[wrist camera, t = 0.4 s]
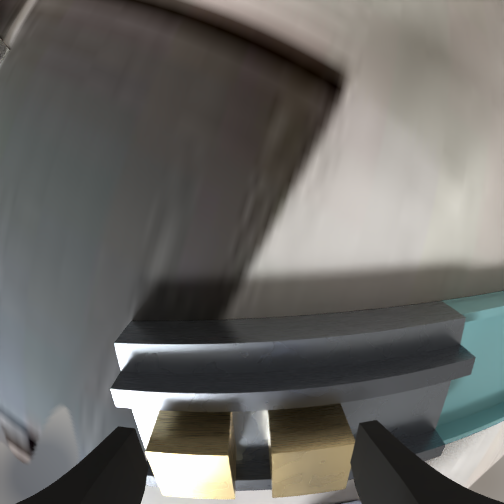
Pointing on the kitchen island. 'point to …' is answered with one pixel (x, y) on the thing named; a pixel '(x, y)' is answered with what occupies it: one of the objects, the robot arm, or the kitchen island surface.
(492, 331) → the tray
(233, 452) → the wooden cube
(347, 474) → the chip
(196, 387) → the slot block
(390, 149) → the kitchen island surface
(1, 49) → the skyscraper
